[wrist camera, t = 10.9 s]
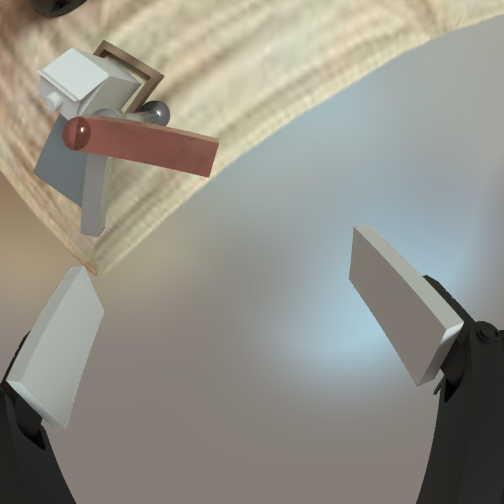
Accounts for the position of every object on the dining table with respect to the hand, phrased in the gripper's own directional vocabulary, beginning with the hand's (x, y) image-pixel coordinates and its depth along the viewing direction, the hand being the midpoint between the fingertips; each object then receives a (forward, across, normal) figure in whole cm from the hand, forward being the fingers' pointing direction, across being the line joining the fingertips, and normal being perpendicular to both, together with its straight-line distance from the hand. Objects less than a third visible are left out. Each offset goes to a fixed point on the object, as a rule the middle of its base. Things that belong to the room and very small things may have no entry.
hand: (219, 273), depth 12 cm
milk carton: (+37, -15, +13) cm, 42 cm away
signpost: (+35, -7, +1) cm, 36 cm away
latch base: (+36, -9, +7) cm, 38 cm away
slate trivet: (+36, -25, +4) cm, 44 cm away
